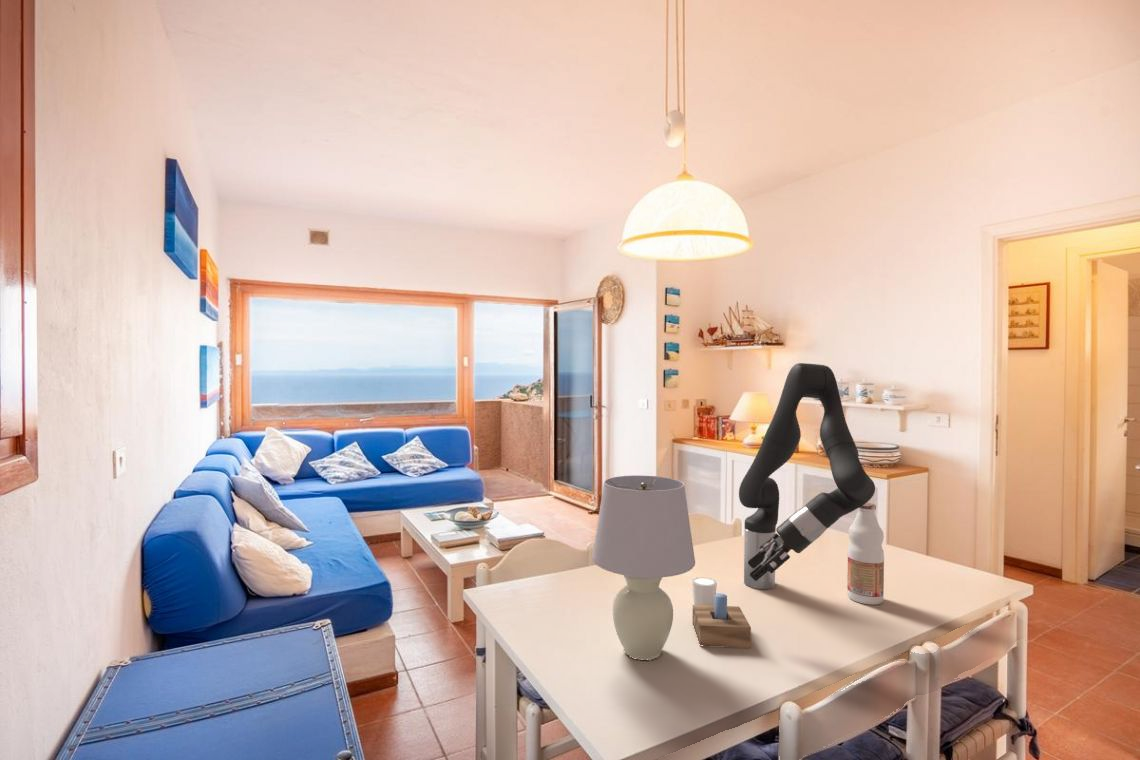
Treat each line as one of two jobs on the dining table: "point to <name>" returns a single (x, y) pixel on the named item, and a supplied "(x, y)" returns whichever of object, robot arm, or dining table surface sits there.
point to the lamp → (643, 555)
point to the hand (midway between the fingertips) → (751, 571)
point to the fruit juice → (866, 558)
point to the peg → (721, 606)
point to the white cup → (704, 591)
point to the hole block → (721, 627)
